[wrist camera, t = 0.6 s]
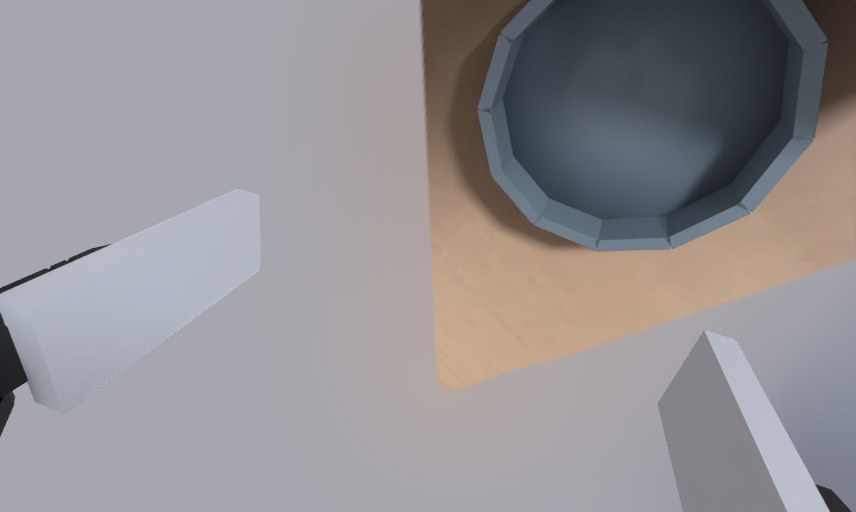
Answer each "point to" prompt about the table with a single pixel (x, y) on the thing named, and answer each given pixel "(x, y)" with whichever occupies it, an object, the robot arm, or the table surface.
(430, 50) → the table surface
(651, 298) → the table surface
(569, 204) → the bowl
